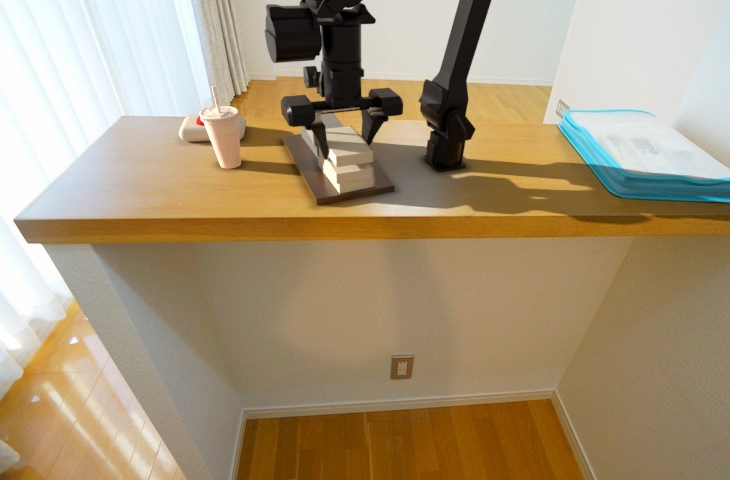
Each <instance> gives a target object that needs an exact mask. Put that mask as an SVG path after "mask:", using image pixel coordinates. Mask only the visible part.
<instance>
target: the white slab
mask: <svg viewBox="0 0 730 480" xmlns="http://www.w3.org/2000/svg"><path fill="white" fill-rule="evenodd" d="M238 123H239V138H240V141H241V140H242V139H243V138H244V137H245V132H246V127H247V120H246V118H245V117H244V116H242V115H240V118H239V119H238ZM178 136H179V138H180V139H181V140H182V141H184V142H211V140H210V138H209V135H208V132H207V130H206V127H205V125H204V122H202V121H201V119H200V115H188V116H186V117H185V118H184V120H183V122H182V124H181V126H180V128H179V131H178Z"/></svg>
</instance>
